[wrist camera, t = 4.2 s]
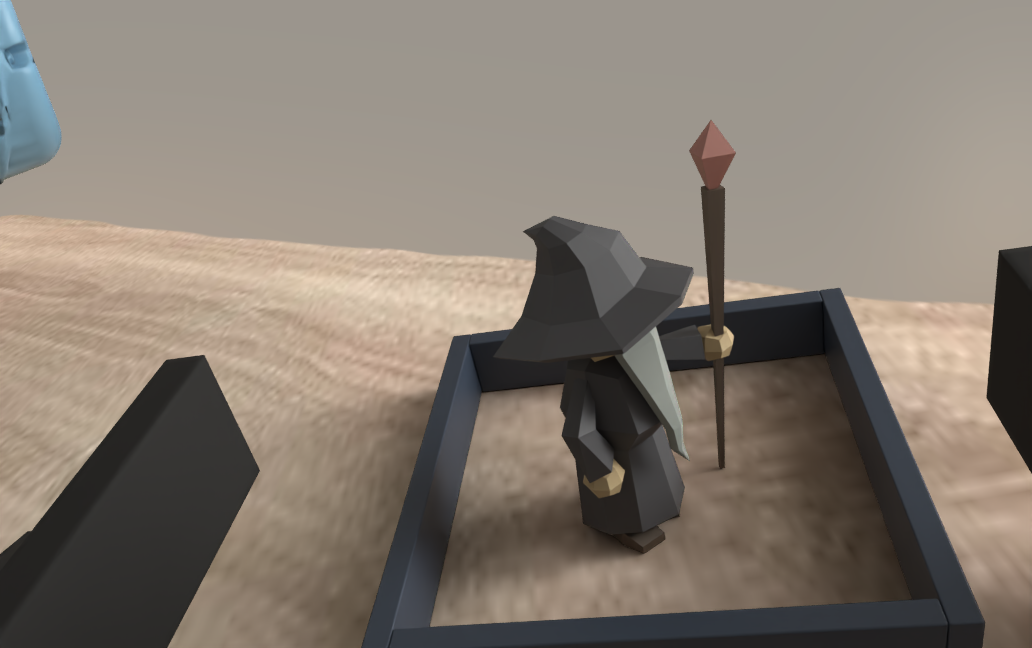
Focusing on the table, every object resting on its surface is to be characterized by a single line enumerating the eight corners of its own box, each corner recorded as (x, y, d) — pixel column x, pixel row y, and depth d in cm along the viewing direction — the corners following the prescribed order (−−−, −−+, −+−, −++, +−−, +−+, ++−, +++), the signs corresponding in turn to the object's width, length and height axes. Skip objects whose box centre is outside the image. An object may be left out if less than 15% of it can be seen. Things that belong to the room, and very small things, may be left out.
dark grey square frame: (384, 710, 24) (358, 654, 23) (466, 383, 37) (452, 335, 36) (979, 689, 21) (986, 622, 20) (841, 340, 34) (840, 287, 33)
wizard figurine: (674, 612, 25) (612, 251, 19) (519, 554, 28) (423, 229, 22) (775, 437, 30) (753, 112, 24) (635, 405, 33) (584, 110, 27)
